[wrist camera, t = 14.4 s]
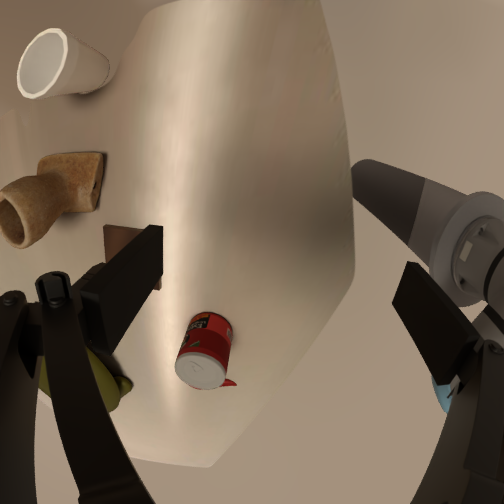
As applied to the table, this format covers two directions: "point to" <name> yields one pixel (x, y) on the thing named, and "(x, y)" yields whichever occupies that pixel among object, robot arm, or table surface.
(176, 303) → the table surface
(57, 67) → the foam cup
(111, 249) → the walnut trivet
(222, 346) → the canned food
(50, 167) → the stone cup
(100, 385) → the spaceship
